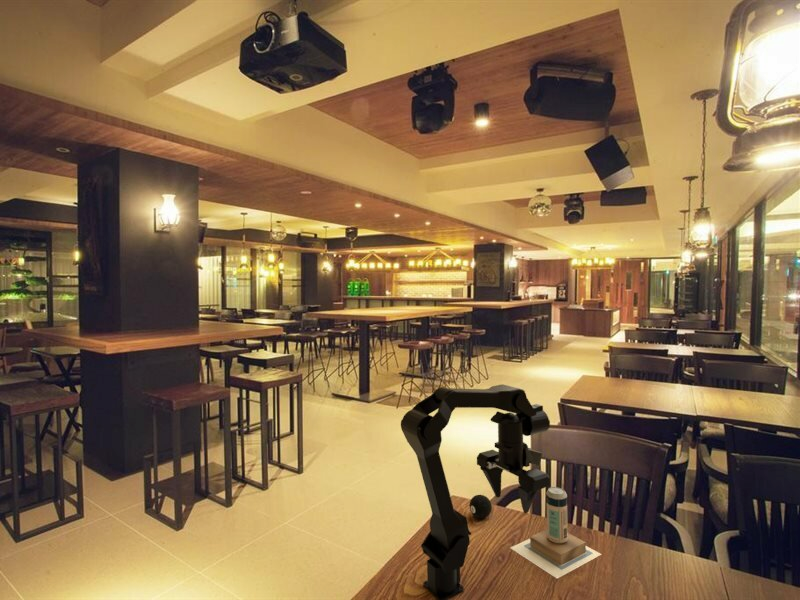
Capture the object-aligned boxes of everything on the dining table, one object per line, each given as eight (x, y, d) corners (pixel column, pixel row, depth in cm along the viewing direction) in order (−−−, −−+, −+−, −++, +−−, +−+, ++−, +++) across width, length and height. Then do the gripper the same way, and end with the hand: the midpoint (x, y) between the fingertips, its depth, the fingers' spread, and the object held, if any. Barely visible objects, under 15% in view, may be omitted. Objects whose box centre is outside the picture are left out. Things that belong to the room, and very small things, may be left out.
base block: (561, 565, 101) (560, 554, 101) (530, 546, 109) (530, 536, 109) (585, 552, 106) (585, 542, 106) (554, 535, 114) (554, 525, 114)
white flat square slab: (557, 581, 97) (557, 578, 97) (509, 550, 109) (509, 547, 109) (601, 556, 105) (601, 553, 105) (553, 530, 117) (553, 527, 117)
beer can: (565, 534, 110) (564, 486, 109) (569, 545, 105) (569, 495, 105) (545, 533, 110) (544, 485, 110) (548, 544, 106) (548, 494, 105)
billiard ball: (496, 518, 124) (495, 497, 124) (480, 524, 121) (479, 503, 121) (481, 509, 129) (480, 489, 129) (465, 515, 126) (465, 494, 126)
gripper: (566, 444, 101) (567, 512, 101) (507, 423, 117) (508, 482, 117) (531, 454, 95) (532, 525, 96) (474, 431, 111) (476, 492, 112)
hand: (511, 504), depth 105 cm, fingers open, 9 cm apart
